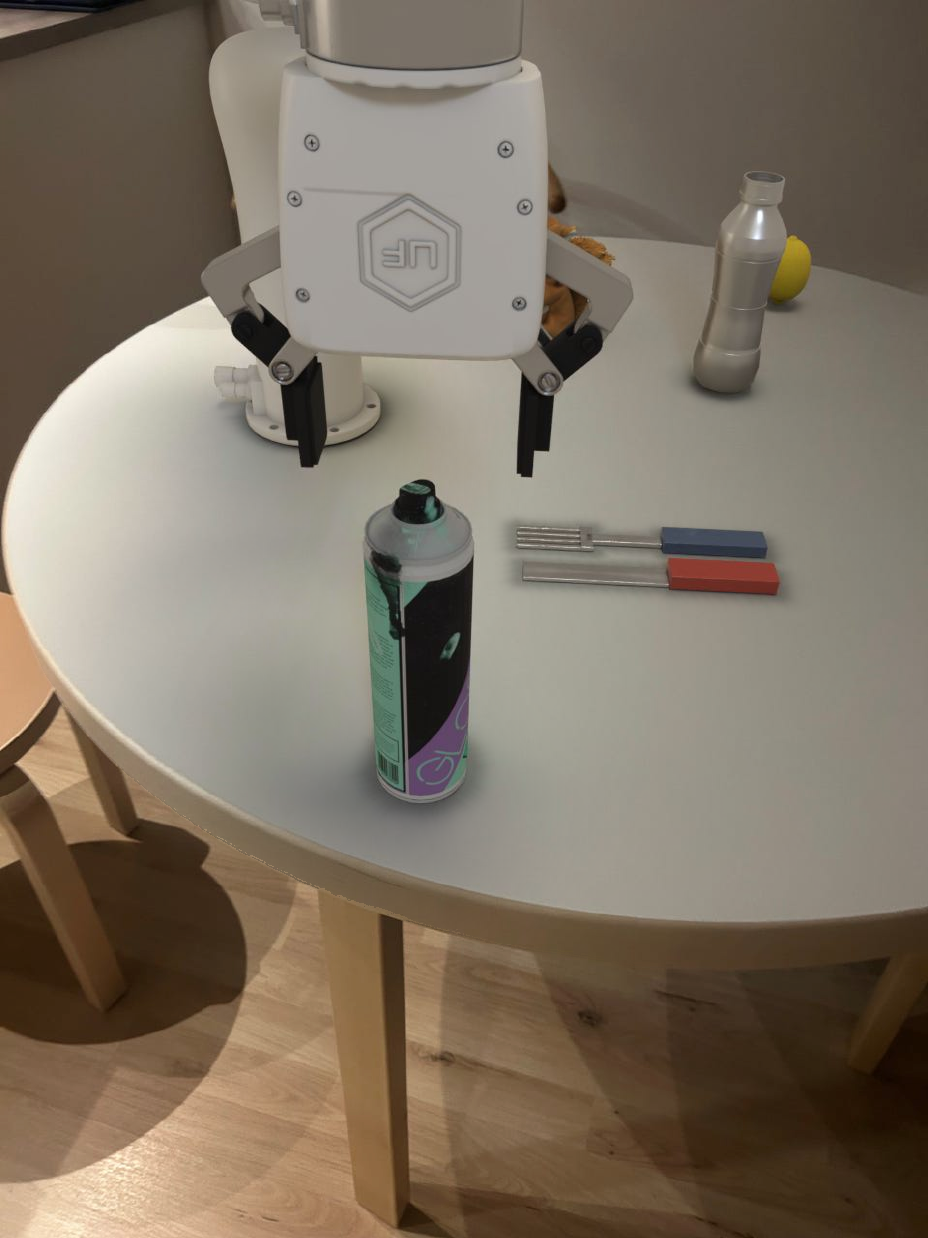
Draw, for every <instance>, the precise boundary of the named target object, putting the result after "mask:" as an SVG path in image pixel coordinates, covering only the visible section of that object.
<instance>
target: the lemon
mask: <svg viewBox="0 0 928 1238" xmlns="http://www.w3.org/2000/svg"><path fill="white" fill-rule="evenodd" d="M811 271H812V255H811V251H810V249H809V248H808V246H807V244H806V243H805V242H803V241H802V240H801V239H798V237H797V236H796V235H790V236H789V237H787V244H786V248H785V251H784V254H783V256H782V259H781V262H780V264H779V267H778V270H777V273H776V275H775V278H774V281H773V284H772V287H771V291H770V295H769V298H768V299H771V300H772V301H773V304H775V305H781V304H783V303H784V302H786V301H787V302H788V301H790V300H793V299H794V298H796V297H797V296H799V295H800V294H801V293H802V292H803V290H804V289H805V288H806V285H807V283H808V281H809V278H810V275H811Z"/></svg>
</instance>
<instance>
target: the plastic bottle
mask: <svg viewBox="0 0 928 1238" xmlns="http://www.w3.org/2000/svg"><path fill="white" fill-rule="evenodd" d="M785 184H786V178H785V177H784V176H783V175H780V174H778V173H775V172H771V171H761V170H760V171H759V170H757V171H756V170H755V171H748V172H746V173H744V175H743V177H742V183H741V187H740V189H739V191H738V198H739V199H740V201H739V203H738V204H737V205H736V206H735V207H734V208H733V209H732V210H731V211H730V212H729V213H728V214H727V216H725V218H724V219H723V220H722V221H721V223H720V224H719V227H718V229H717V232H716V235H715V243H714V245H715V247H714V249H715V250H714V266H713V279H712V284H711V294H710V300H709V305H708V309H707V312H706V313H707V314H706V317H705V321H704V325H703V328H702V332H701V335H700V336H699V338H698V342H697V344H696V347H695V351H694V354H693V357H692V358H693V359H692V361H693V364H692V367H693V368H692V372H693V375H694V376H695V379H696V381H697V382H698V384H700V385H701V386H702V387H704V388H706V389H708V390H711V391H714V392H719V393H738V392H739V393H740V392H742V391H745V390H746V389H747V388H749V386H750V385H752V383H753V382H754V381H755V378H756V376H757V374H758V372H759V369H760V364H761V354H762V353H761V342H762V335H763V327H764V319H765V313H766V308H767V305H768V299H770V298H769V295H770V291H771V287H772V284H773V281H774V278H775V275H776V273H777V270H778V267H779V264H780V262H781V259H782V256H783V254H784V251H785V248H786V244H787V238H788V236H787V235H788V234H787V228H786V225H785V222H784V219H783V217H782V214H781V213H780V211H779V208H778V204H780V203H782V201H783V197H784V194H783V193H784V188H785Z"/></svg>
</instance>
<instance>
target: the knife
mask: <svg viewBox="0 0 928 1238" xmlns="http://www.w3.org/2000/svg"><path fill="white" fill-rule="evenodd" d="M522 581H532V582H534V581H535V582H552V583H571V584H572V583H573V584H574V583H575V584H591V585H593V584H594V585H615V586H630V587H631V586H632V587H633V586H634V587H650V588H651V587H653V588H655V587H656V588H669V589H670V590H682V591H683V590H684V591H705V592H706V591H707V592H726V593H745V594H763V595H764V594H766V595H777V593H778V590H779V587H780V585H781V581H780V578H779V574H778V572H777V568H776V566H775V563H774V562H763V561H745V560H744V561H742V560H741V561H740V560H723V559H722V560H721V559H703V558H702V559H701V558H683V557H682V558H681V557H668V559H667V564H666V567H664V568H663V567H646V566H645V567H643V566H625V565H624V566H623V565H603V564H586V563H585V564H584V563H583V564H581V563H562V562H545V561H543V562H541V561H522Z"/></svg>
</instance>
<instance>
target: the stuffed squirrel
mask: <svg viewBox="0 0 928 1238" xmlns="http://www.w3.org/2000/svg"><path fill="white" fill-rule="evenodd" d="M547 229H549V230H550V231H552V232H554V233H556V234H557V235H559V236H561V237H562V238H564V239H566V240H567V241H569V242H571V243H572V244H574V245H576V246H578V247H579V248H581V249H583V250H584V251H586V252H588V253H589V254H591V255H593V256H594V257H596V258H598V259H600V260H601V261H603V262H605V263H606V264H608V265H610V266H611V267H612V264H613V262H614V261H616V260H617V259H616V256H615V255H613V254H612V253H609V251H607V247H606V245H604V244H603V243H602V242H599V241H597V240H595V239H594V238H592V237H586V236H583V237H582V235H578V237H576V236H575V235H576V234H577V232H578V229H577V227H576V226H575V225H563V224H562V223H561V222H560V221H559V219H556V218H554V217H552V216H550V215H547ZM588 301H589V300H588V299H587V298H586V297H584V296H583V295H581V294H579V293H577V292H576V291H574V290H572V289H571V288H569V287H567V286H565V285H564V284H562V283H560V282H558V281H557V280H555V279H553V278H551V277H550V276H548V275H546V277H545V291H544V303H543V312H542V320H541V324H542V325H543V326H544V328H545V329H546V330H547V332H548V333H549V334H550V335H551V337H552V338H554V337H555V336H557V335H558V334H559V333H560V332H561V331H562V330H564V329H565V328H566V327H567V326H568V325H570V324H571V323H572V322H573V321H574V320H575V319H577V318H578V317H580V316H581V314H582V313H583V311H584V309H585V306H586V305H587V303H588Z"/></svg>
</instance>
